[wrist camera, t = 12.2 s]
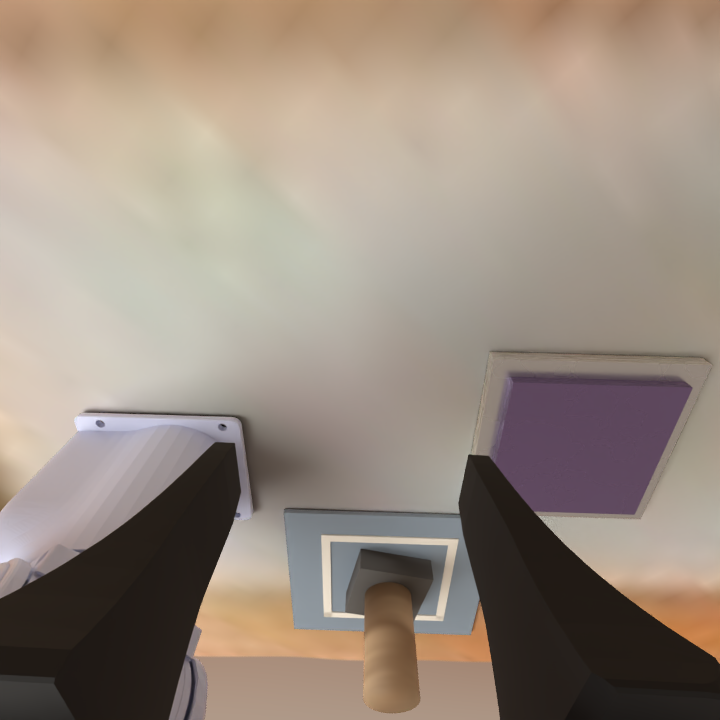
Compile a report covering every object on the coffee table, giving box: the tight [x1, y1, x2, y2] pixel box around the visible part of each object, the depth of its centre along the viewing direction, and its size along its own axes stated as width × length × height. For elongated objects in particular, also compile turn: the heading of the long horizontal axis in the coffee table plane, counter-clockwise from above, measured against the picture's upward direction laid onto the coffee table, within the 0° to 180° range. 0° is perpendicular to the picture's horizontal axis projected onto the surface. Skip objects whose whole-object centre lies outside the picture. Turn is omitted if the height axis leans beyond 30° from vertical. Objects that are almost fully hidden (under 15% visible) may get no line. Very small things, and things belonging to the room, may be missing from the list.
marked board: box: [284, 509, 480, 635], centre depth 31 cm, size 14×13×1 cm
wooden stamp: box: [345, 549, 434, 713], centre depth 27 cm, size 5×5×8 cm
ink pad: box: [471, 352, 713, 519], centre depth 24 cm, size 11×11×1 cm
